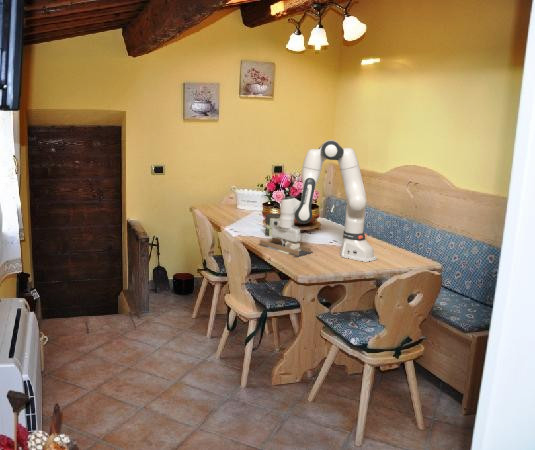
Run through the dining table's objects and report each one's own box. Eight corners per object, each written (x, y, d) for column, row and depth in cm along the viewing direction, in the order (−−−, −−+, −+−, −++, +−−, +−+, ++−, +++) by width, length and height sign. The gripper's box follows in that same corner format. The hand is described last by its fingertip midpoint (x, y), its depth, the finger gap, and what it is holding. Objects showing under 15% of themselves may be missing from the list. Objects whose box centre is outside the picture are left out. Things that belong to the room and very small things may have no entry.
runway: (312, 253, 319) (313, 247, 318) (295, 257, 308) (295, 251, 307) (275, 242, 339) (275, 236, 338) (257, 246, 327) (257, 240, 326)
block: (299, 250, 319) (299, 243, 318) (292, 252, 315) (293, 244, 314) (291, 248, 323) (292, 241, 322) (285, 250, 319) (285, 242, 318)
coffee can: (262, 235, 353) (263, 214, 350) (270, 233, 362) (271, 212, 358) (275, 238, 348) (277, 217, 345) (283, 235, 356) (284, 215, 353)
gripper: (303, 226, 315) (301, 249, 318) (277, 219, 328) (276, 241, 331) (296, 228, 310) (295, 251, 314) (270, 221, 324) (269, 243, 327)
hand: (285, 246), depth 323 cm, fingers closed
